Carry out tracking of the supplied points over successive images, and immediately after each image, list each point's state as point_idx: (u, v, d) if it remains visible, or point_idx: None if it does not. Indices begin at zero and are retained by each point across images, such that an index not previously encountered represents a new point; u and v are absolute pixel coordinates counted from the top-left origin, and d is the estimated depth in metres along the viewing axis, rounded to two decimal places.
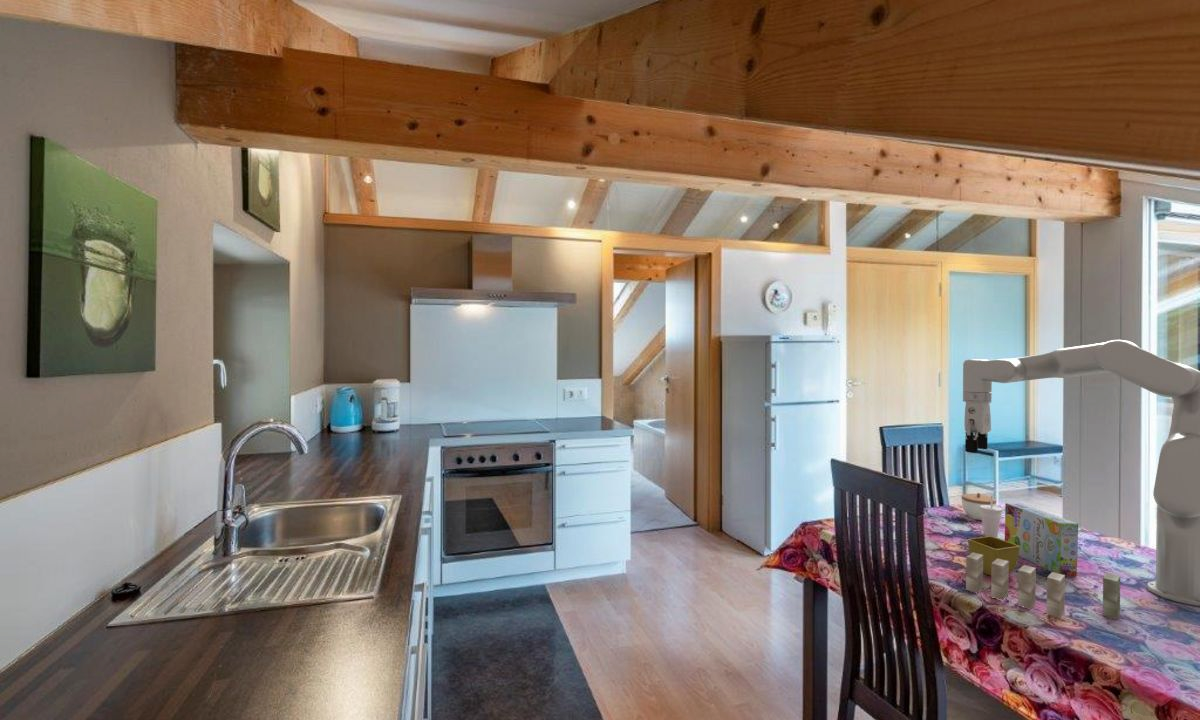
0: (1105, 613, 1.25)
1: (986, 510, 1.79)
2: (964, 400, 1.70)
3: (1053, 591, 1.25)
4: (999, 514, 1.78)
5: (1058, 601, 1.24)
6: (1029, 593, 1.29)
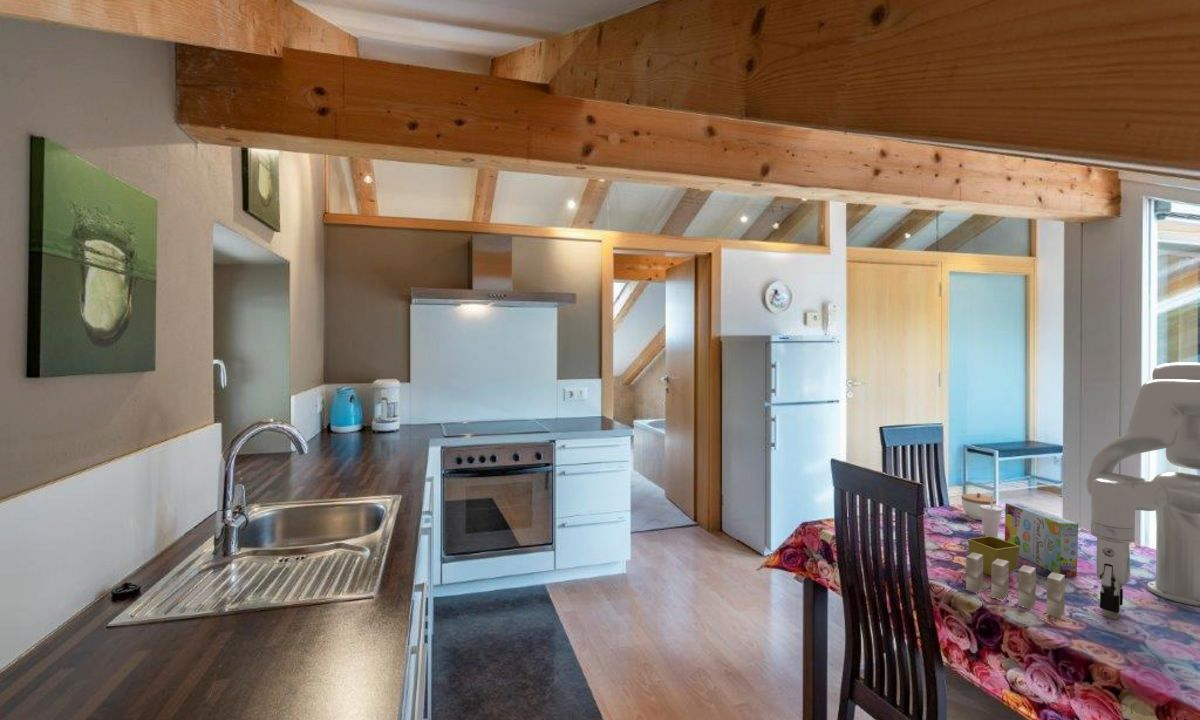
0: (1105, 613, 1.25)
1: (986, 510, 1.79)
2: (1095, 534, 1.27)
3: (1053, 591, 1.25)
4: (999, 514, 1.78)
5: (1058, 601, 1.24)
6: (1029, 593, 1.29)
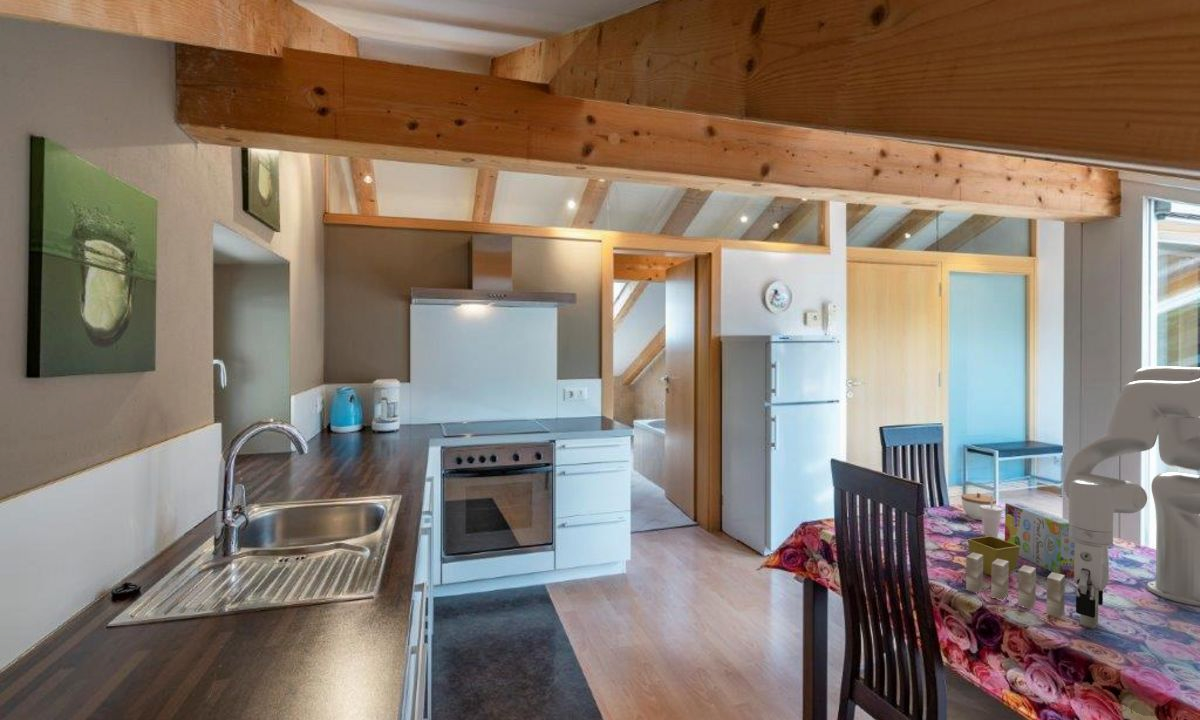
0: (1083, 622, 1.21)
1: (986, 510, 1.79)
2: (1072, 538, 1.22)
3: (1053, 591, 1.25)
4: (999, 514, 1.78)
5: (1058, 601, 1.24)
6: (1029, 593, 1.29)
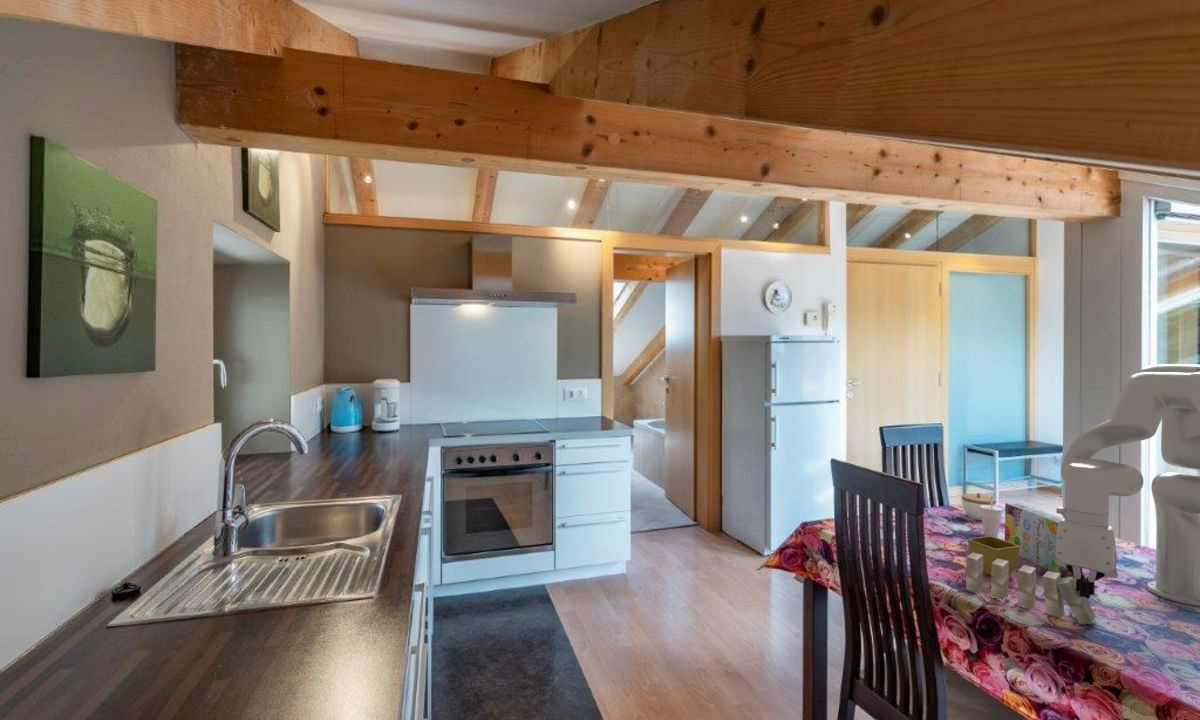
0: (1080, 621, 1.21)
1: (986, 510, 1.79)
2: None
3: (1050, 590, 1.25)
4: (999, 514, 1.78)
5: (1056, 600, 1.25)
6: (1029, 593, 1.29)
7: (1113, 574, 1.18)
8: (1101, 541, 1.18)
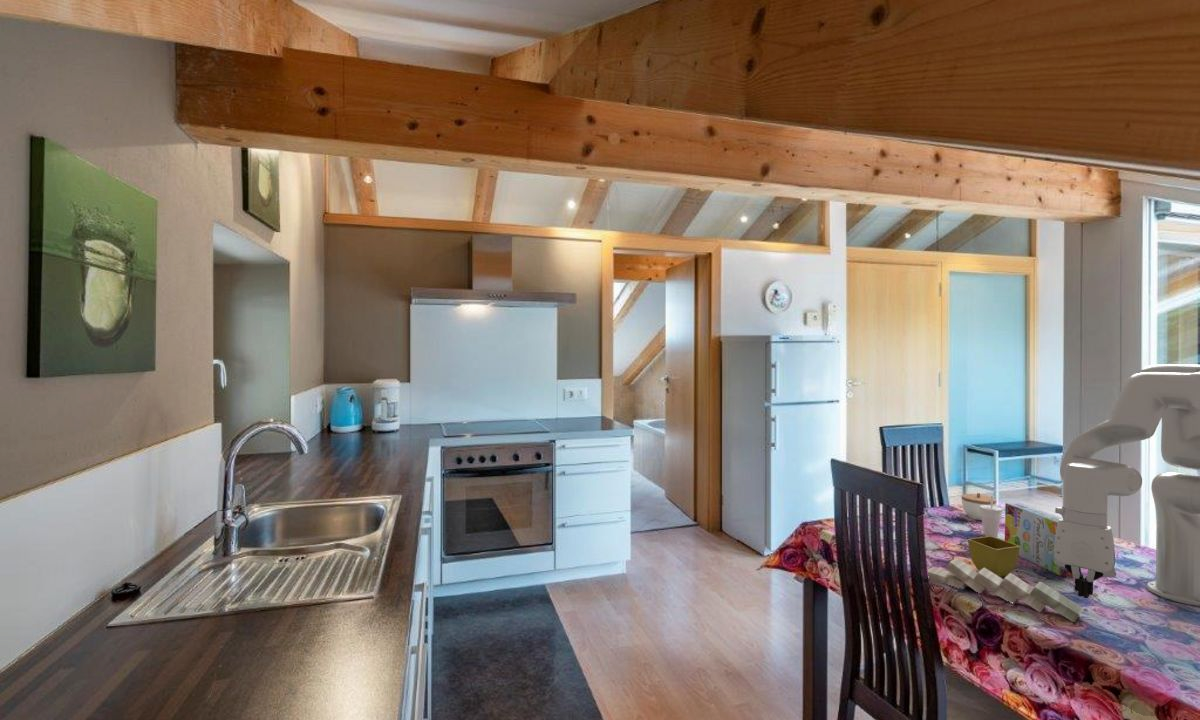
0: (1071, 619, 1.23)
1: (986, 510, 1.79)
2: None
3: (1015, 590, 1.31)
4: (999, 514, 1.78)
5: (1026, 593, 1.29)
6: (999, 586, 1.33)
7: (1112, 574, 1.19)
8: (1099, 541, 1.19)
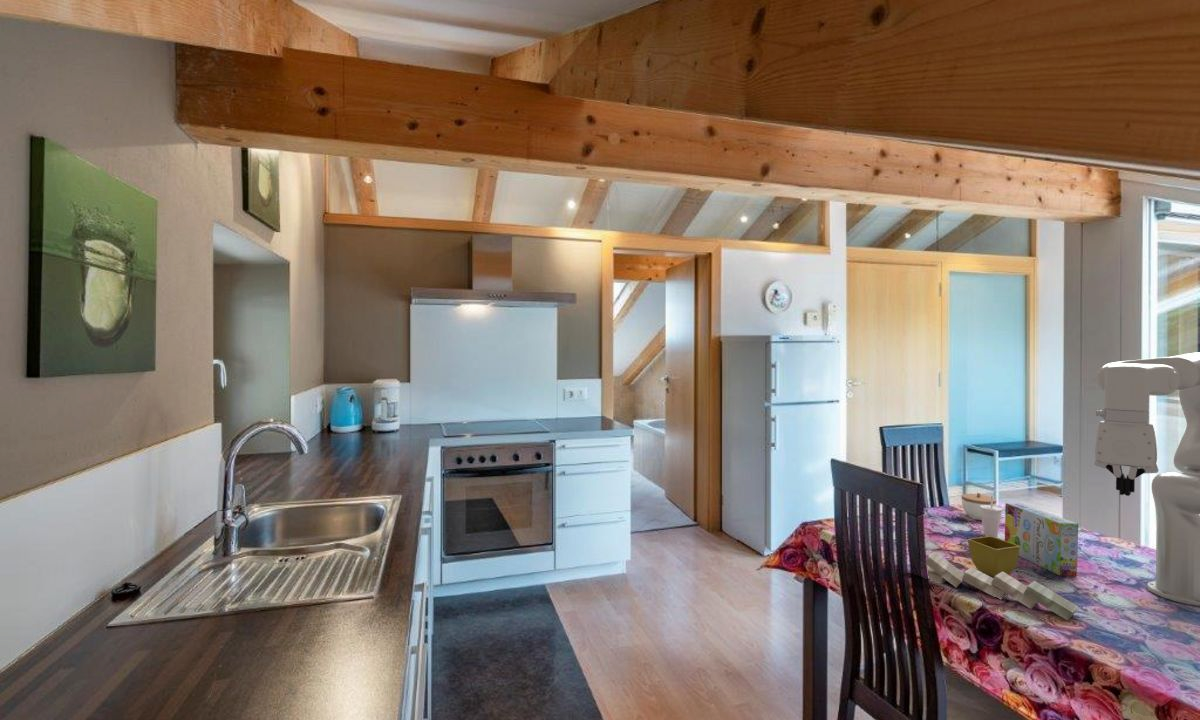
0: (1065, 617, 1.24)
1: (986, 510, 1.79)
2: None
3: (1005, 587, 1.33)
4: (999, 514, 1.78)
5: (1016, 590, 1.31)
6: (985, 583, 1.36)
7: (1154, 469, 1.21)
8: (1142, 437, 1.21)
